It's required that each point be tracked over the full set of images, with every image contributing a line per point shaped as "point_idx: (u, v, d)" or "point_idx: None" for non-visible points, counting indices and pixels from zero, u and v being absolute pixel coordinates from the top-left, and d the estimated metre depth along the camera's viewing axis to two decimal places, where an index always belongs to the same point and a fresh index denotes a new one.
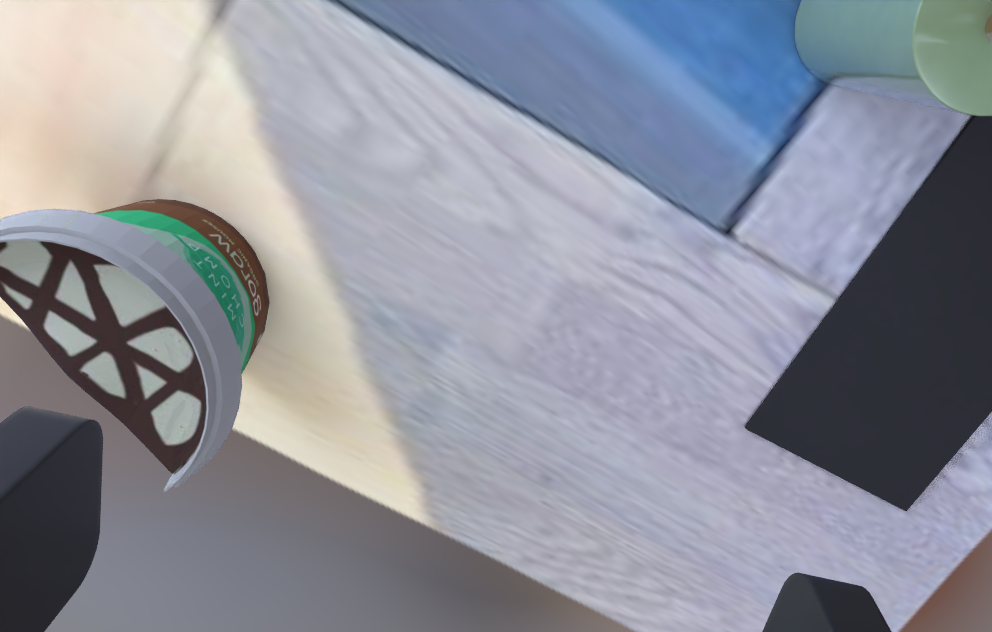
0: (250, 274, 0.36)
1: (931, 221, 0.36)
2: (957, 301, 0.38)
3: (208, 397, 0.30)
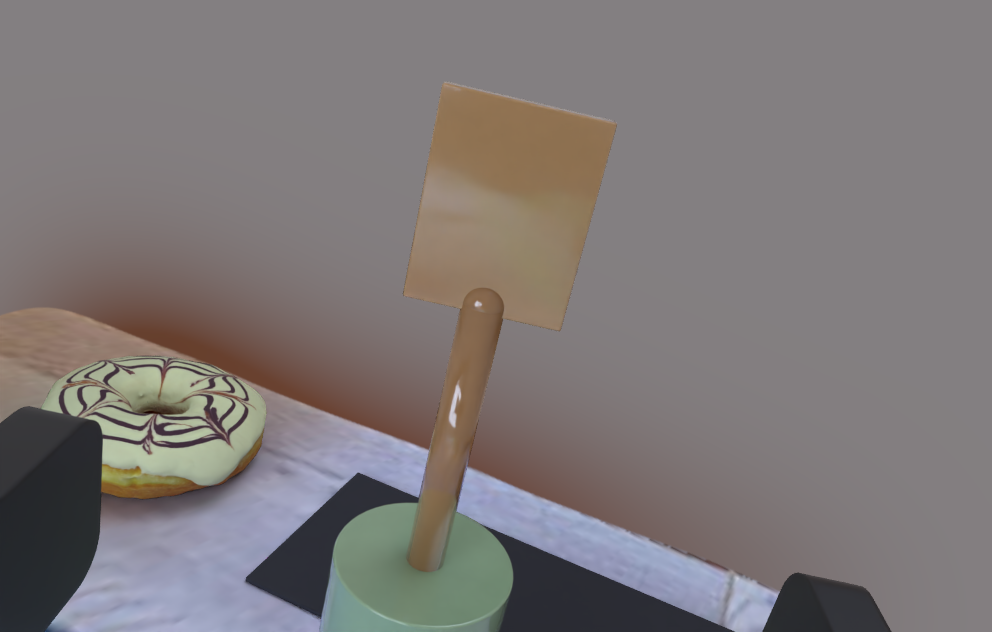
0: None
1: None
2: None
3: None
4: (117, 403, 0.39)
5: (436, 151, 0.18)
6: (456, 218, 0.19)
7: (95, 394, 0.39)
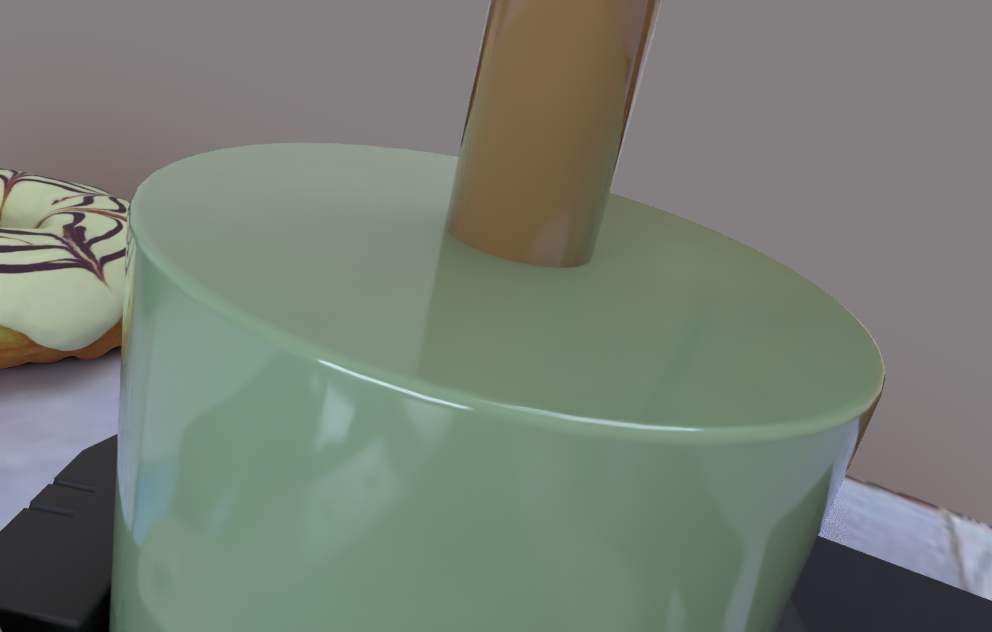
0: None
1: None
2: None
3: None
4: None
5: None
6: None
7: None
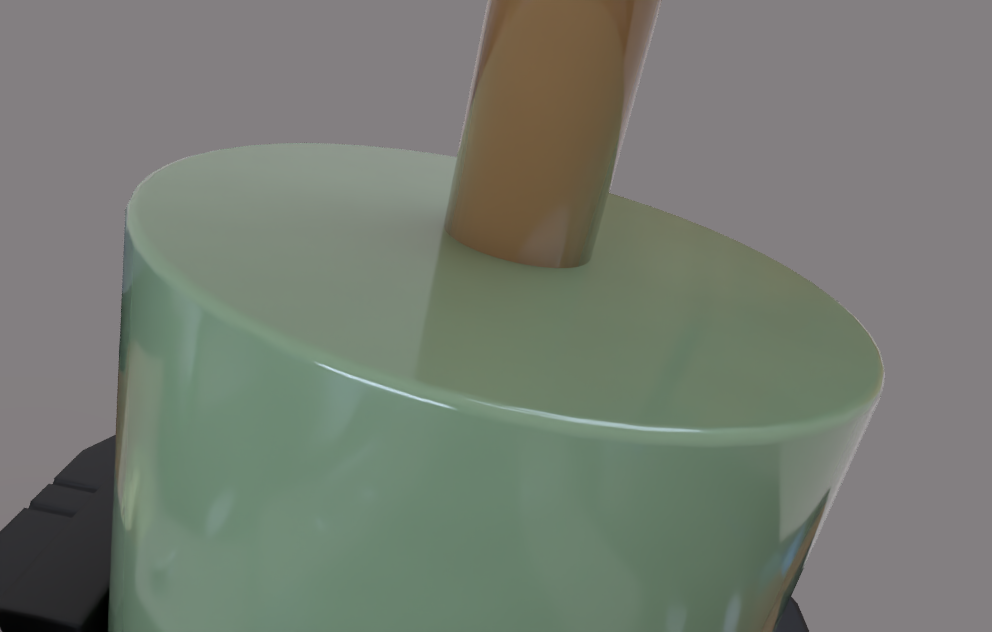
0: None
1: None
2: None
3: None
4: None
5: None
6: None
7: None
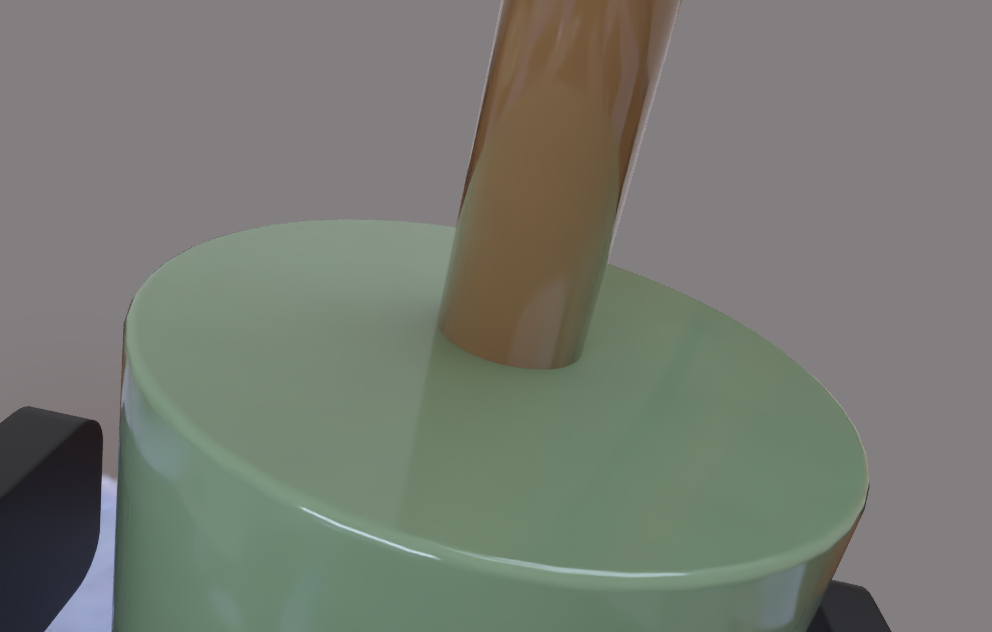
0: None
1: None
2: None
3: None
4: None
5: None
6: None
7: None
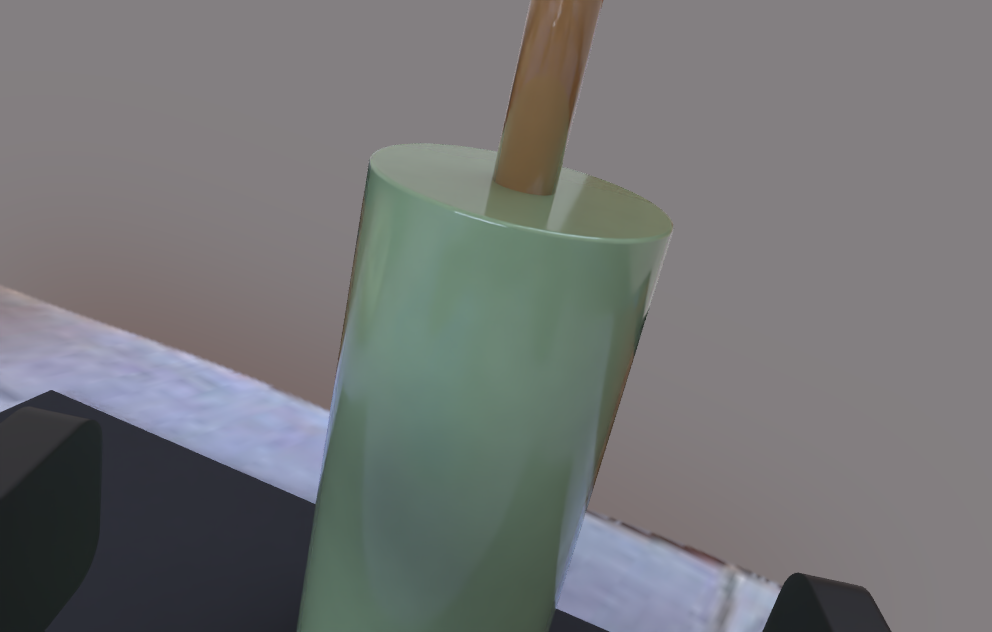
0: None
1: None
2: None
3: None
4: None
5: None
6: None
7: None
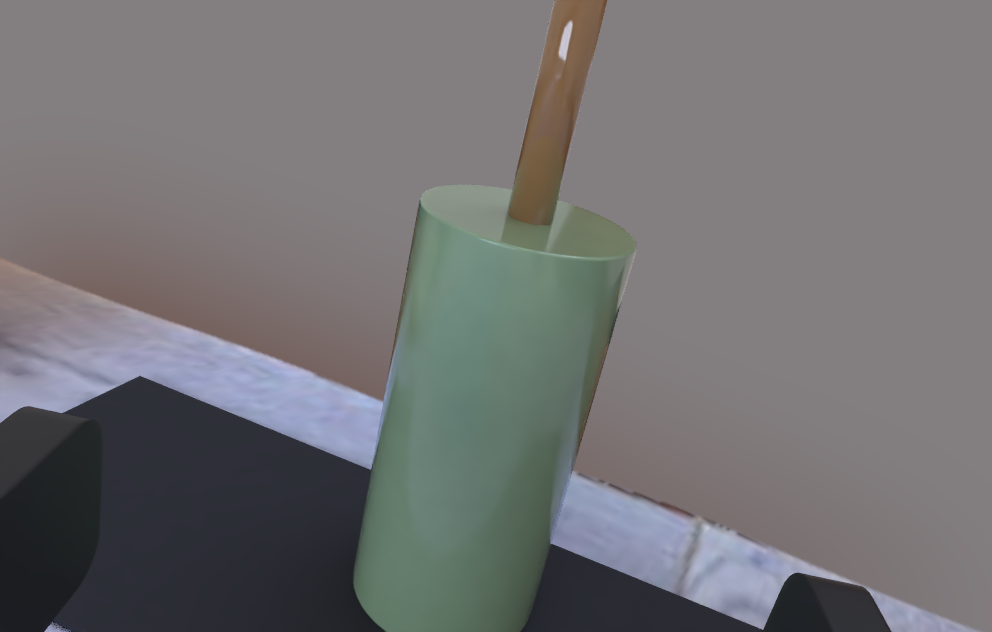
0: None
1: None
2: None
3: None
4: None
5: None
6: None
7: None
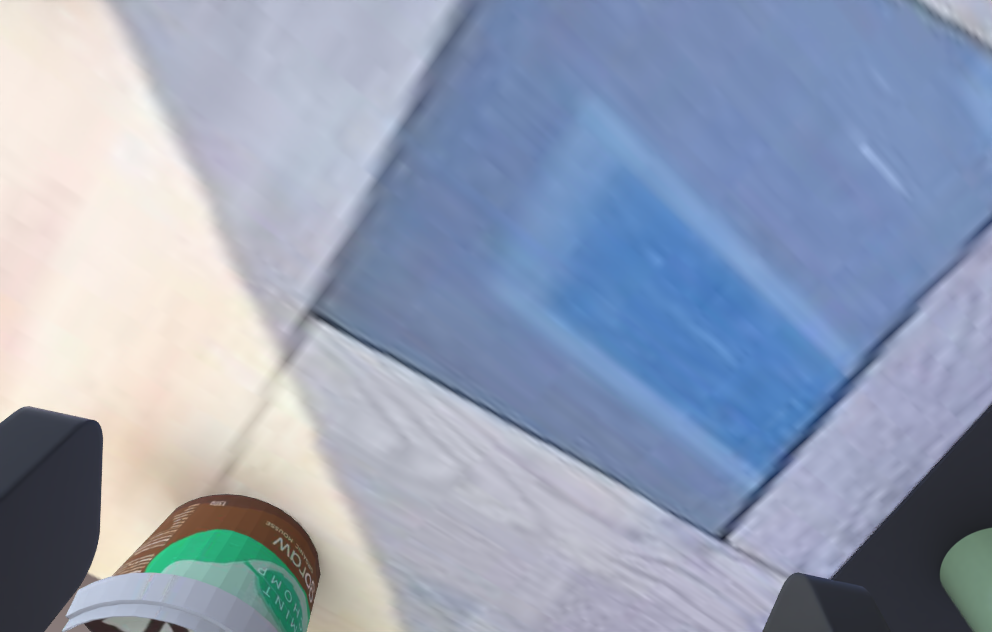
0: (306, 566, 0.42)
1: (901, 540, 0.42)
2: (923, 600, 0.43)
3: None
4: None
5: None
6: None
7: None
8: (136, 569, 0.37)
